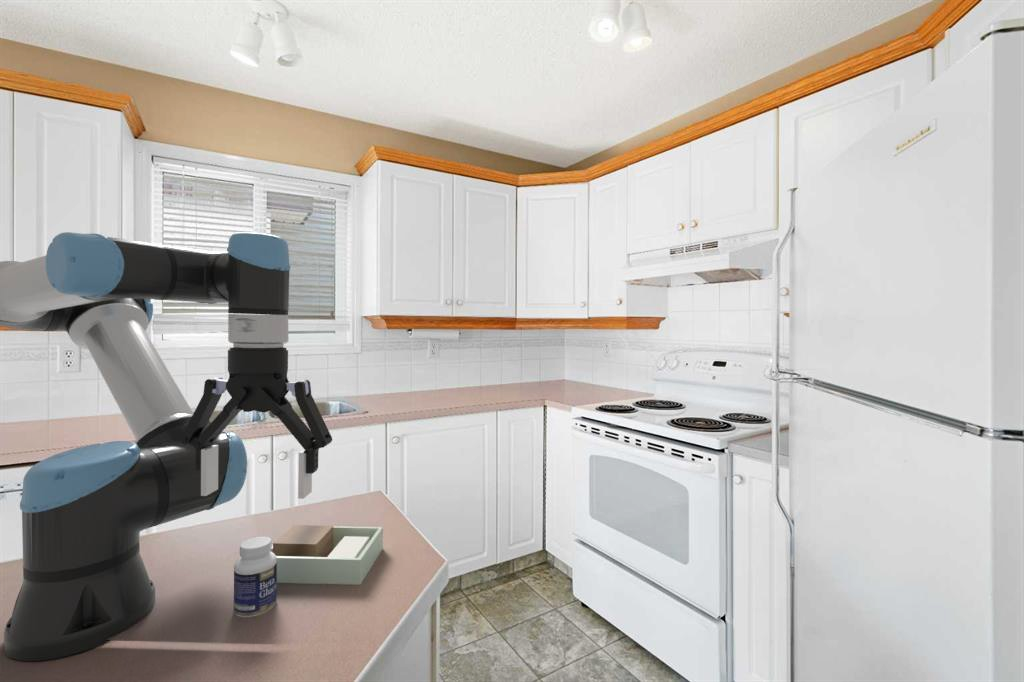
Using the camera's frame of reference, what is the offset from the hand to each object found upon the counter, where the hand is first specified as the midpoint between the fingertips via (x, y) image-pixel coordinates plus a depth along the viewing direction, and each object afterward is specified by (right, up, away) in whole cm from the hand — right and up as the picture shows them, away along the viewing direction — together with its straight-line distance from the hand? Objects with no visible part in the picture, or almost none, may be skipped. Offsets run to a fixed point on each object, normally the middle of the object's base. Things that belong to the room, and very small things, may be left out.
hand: (257, 494), depth 68 cm
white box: (+9, -16, +12) cm, 22 cm away
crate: (+5, -16, +12) cm, 21 cm away
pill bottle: (0, -17, 0) cm, 17 cm away
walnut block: (+1, -16, +12) cm, 20 cm away
